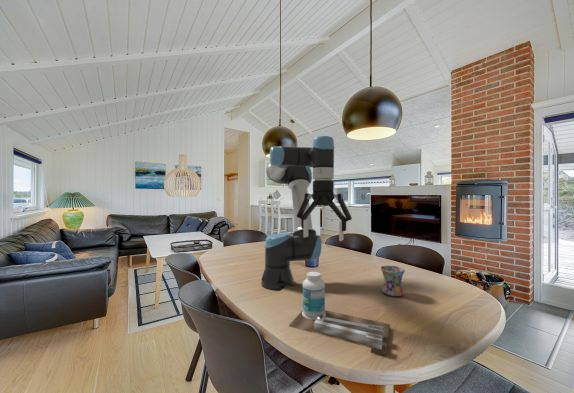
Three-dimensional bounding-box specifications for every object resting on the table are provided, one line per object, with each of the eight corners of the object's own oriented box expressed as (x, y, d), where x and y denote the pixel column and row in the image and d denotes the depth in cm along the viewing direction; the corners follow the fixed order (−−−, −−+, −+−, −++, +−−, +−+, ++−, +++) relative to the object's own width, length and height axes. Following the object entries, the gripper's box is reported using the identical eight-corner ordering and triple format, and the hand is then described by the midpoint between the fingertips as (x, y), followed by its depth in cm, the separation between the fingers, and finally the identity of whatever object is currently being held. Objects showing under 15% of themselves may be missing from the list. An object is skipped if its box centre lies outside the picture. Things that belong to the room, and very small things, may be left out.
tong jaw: (315, 325, 74) (315, 317, 74) (317, 321, 77) (317, 313, 77) (383, 339, 67) (383, 329, 67) (383, 334, 70) (383, 325, 70)
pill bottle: (301, 308, 86) (301, 270, 86) (322, 307, 86) (321, 269, 86) (304, 319, 78) (304, 277, 78) (327, 318, 79) (327, 276, 79)
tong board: (288, 329, 75) (288, 318, 75) (306, 309, 88) (306, 299, 88) (385, 356, 62) (385, 342, 62) (389, 328, 76) (389, 316, 76)
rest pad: (298, 316, 81) (298, 315, 81) (307, 307, 88) (307, 306, 88) (321, 322, 77) (321, 321, 77) (328, 311, 84) (328, 310, 84)
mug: (406, 299, 97) (406, 273, 97) (381, 296, 100) (381, 270, 100) (402, 288, 108) (402, 264, 108) (380, 286, 111) (380, 263, 111)
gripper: (288, 180, 91) (287, 237, 91) (355, 178, 79) (355, 244, 79) (297, 181, 97) (296, 234, 98) (360, 179, 85) (360, 240, 86)
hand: (322, 238), depth 88 cm, fingers open, 13 cm apart
